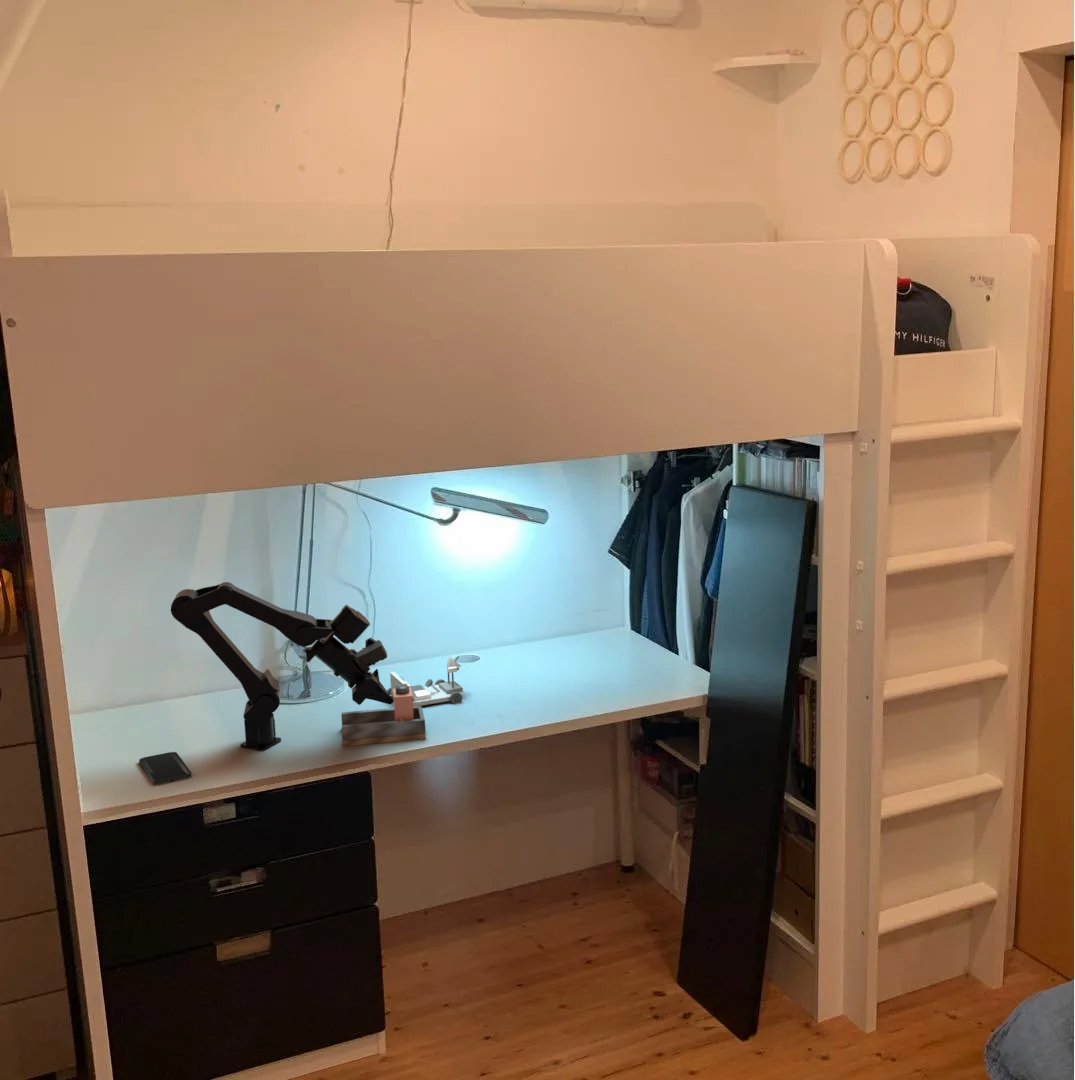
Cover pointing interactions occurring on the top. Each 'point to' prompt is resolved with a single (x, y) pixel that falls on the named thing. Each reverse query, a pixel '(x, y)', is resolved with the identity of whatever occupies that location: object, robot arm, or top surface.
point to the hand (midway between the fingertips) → (392, 702)
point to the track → (381, 726)
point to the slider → (403, 703)
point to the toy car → (432, 688)
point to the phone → (165, 768)
